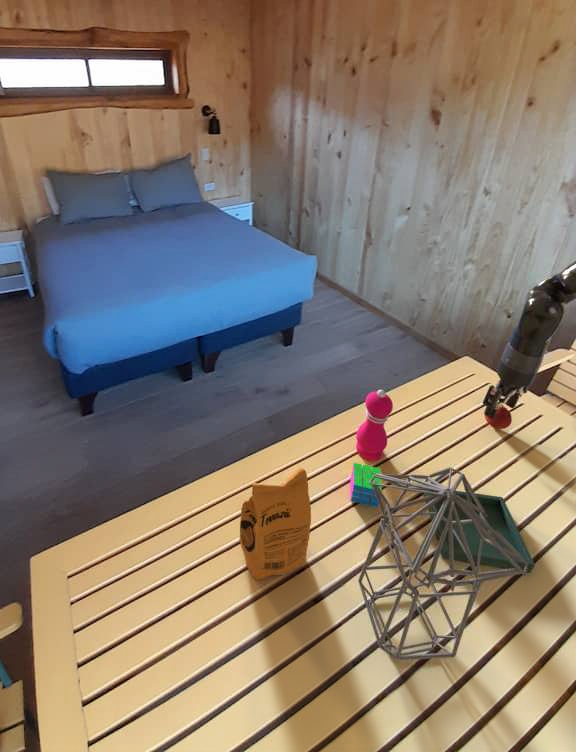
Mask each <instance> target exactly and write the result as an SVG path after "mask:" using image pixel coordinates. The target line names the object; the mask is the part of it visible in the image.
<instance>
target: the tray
mask: <svg viewBox="0 0 576 752" xmlns="http://www.w3.org/2000/svg"><path fill="white" fill-rule="evenodd" d="M425 491H428V492H433V491H429V490H425ZM449 491H450V490H449ZM435 493H437V492H435ZM454 493H455V494H456V495H458V496H460V497H462V498H463V499H465V500H467V496H466V492H465V491H463V490H462V491H460V490H456V491H455V492H454ZM469 493H470V492H469ZM474 493H475V495H476V497H477V498H478V500H479V502H480V504H481V505H482V507H483V509H484V511H485V513H486V514H487V515H488V516H487V517H486V520H487V522H488V524H489V525H490V527H491V528H493V529H494V530H496V531H498V532H499V533H500V534H501V535H502V536H503V537H504V538H505V539H506V540H507V541H508V542H509V543H510V544H511V545H512V546H513V547H514V548H515V549H516V550H517V551H518V552H519V553H520V554H521V555H522V557H523V559H524V560H525V561H526V562H527V563H528V568H527V573H526V574H531V573H532V571H533V570H534V568H535V566H536V564H535V562H534V561H535V560H534V559H533V558H532V555H531V554H530V551H529V549H528V547H527V545H526V543H525V541H524V539H523V537H522V534H521V532H520V530H519V527H518V526H517V524H516V522H515V520H514V517H513V516H512V514H511V512H510V509H509V507H508V505H507V503H506V501H505V500H504V498H503V496H496V495H491V494H482V493H476V492H474ZM426 494H427V493H426ZM422 495H423V497H426V496H425V494H424V493H422ZM429 495H432V494H427V496H429ZM470 496H471V500H472V504H474V505H476V506H477V504H476V502H475V500H474V499H473V497H472V495H471V493H470ZM445 497H446V496H445ZM445 497H444V498H443V499H441V500H440V501H439V502H437V503H436V504H434V507H435V508H436V510H437V512H439V510H440V508H441V506H442V504H443V502H444V500H445ZM432 500H433V499H432ZM432 500H430V501H432ZM467 501H468V500H467ZM424 503H425V505H426V504H428V503H429V501H425V502H424ZM455 507H456V510H457V513H458V516H459V519H460V520H471V519H470V518H469V517H468V516H467V515H466V514H465V513H464V511H463V510H462V509H461V508H460V507H459V506H458V505H457V504H456V503H455ZM477 507H478V506H477ZM474 511H475V512H476V513H477V514H478V515H479V514H480V512H478V511H477V510H475V509H474ZM430 512H435V510H434V509H433V507H430V508H429V509H428V510H427V513H430ZM434 516H435V515H429V518H430V523H432V520H433V518H434ZM479 516H480V515H479ZM443 517H444V518H446V519H447V518H448V507H447V509H446V511H445V513H444V515H443ZM452 521H455V518H454V515H453V512H452ZM477 521H478V520H477ZM480 524H481V523H480ZM445 525H446V523H445V522H444V521H443V520H441V522H440V524H439V527H438V529H437V531H436V533H435V538H436V541H438V542H437V545H438V544H439V541H440V538H441V536H442V533H443V530H444V528H445ZM461 525H462V528H463V531H464V534H465V537H466V540H467V543H468V546H469V548H470V551H471V554H472V557H473V560H474V563H475V565H477V562H478V554H479V547H480V540H481V539H482V537H481V535H480V533H479V531H478V529H477V527H476V526H475V524H474V523H469V524H461ZM481 525H482V524H481ZM482 526H483V527H484V528H485V529H486V531H487V532H488V530H487V528H486V527H485V526H484V525H482ZM453 528H454V530H455V531H456V533H457V535H458V536H459V538H460V540H461V542H462V543H463V541H462V538H461V535H460V532H459V530H458V527H457V525H453ZM488 533H489V532H488ZM485 536H486V535H485ZM493 536H494V535H493ZM493 536H492V537H493ZM486 538H487V537H486ZM487 539H488V538H487ZM482 540H483V539H482ZM496 541H497V542H498V544H499V545H500V546H502V547H504V548H506V549H508V550H510V549H509V548H508V547H507V546H506V545H505V544H504V543H503V542H502V541H501V540H500V539H499V538H497V539H496ZM463 545H464V544H463ZM453 548H454V562H461V563H467V564H470V562H469V559H468V557H467V555H466V554H465V552H464V550H463V548H462V547H461V545H460V543H459V541H458V540H457V538H456V536H455V534H454V533H453ZM510 551H511V550H510ZM440 555H441V558H442V559H443V560H448V561H449V535H448V531H447V534H446V536H445V539H444V542H443V545H442V548H441V551H440ZM510 557H511V558H512V559H513V560H514V561H515V562H516V563H517V564H518V565H519V566H520V567H521V568H522V570H523V572H524V567H525V563H524V562H523V561H520V560H518V559H516V558H514V557H512V556H510ZM480 566H485V567H491V568H497V569H501V570H505V569H514V568H515V567H514V566H513V565H512V564H511V563H510V562H509V560H508V559H507V558H506V557H505V556H504V555H503V554H502V553H501V552H500V551H499V550H498V549H497V548H495V547H494V546H492V545H490V544H488V543H486V542H484V540H483V544H482V551H481V559H480Z"/></svg>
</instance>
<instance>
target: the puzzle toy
mask: <svg viewBox="0 0 576 752" xmlns="http://www.w3.org/2000/svg"><path fill="white" fill-rule="evenodd" d="M376 473H377V474H382V473H381V468H380V467H375V466H371V465H366V464H362V463H358V462H353V465H352V470H351V474H350V502H353V503H357V504H361V505H364V506H369V507H373V508H376V509H378V508H379V503H378V500H377V497H376V494H375V491H374V488H373V485H370V484H369V482H370V481H371V479H372V477H373V476H374V475H375V474H376ZM373 481H375V482H376V483H377V484H382V479H380V478H374V480H373ZM378 487H379V488H380V490H381V492H382V493H383V489H382V488H383V487H382V486H378Z"/></svg>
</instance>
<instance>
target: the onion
mask: <svg viewBox="0 0 576 752" xmlns="http://www.w3.org/2000/svg"><path fill="white" fill-rule="evenodd" d="M484 418H485V419H484V420H485V421H486V423H488V425H490V427H492V428H493V429H495V430H505V429H507V428H509V426H511V424H512V422H513V421H512V418H513V417H512V413H511V412H510V410H509V409H508V408H506V407H505V406H504V404H503V403H502V404H501V405H500V407H499V408H498V410H497V412H496V415H495V417H494V418H493V419H490V418H488V417H487V416H486V415H485V414H484Z"/></svg>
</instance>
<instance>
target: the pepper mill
mask: <svg viewBox="0 0 576 752" xmlns="http://www.w3.org/2000/svg"><path fill="white" fill-rule="evenodd" d="M393 407H394V404H393V401H392V399H391V396H389V395H388V394H387V393H386V392H385V390H383V389H379V390H376V391H372V392H370V393H369V394H368V395H367V397H366V398H365V416H366V419H365V421H363V422H362V424H361V425H359V427H358V429H357V431H356V433H355V438H356V439H355V440H356V445H355V449H356V452H357V454H358V455H359V456H360V457H361V458H362V459H365V460H366V461H370V462H375V461H379V460H381V459H382V457H383V453H384V450H385V449H386V448H387V446H388V435H387V432H386V430H385V423H386V422H388V420H389V415H390V414H391V413H392V411H393V409H394V408H393Z"/></svg>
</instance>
